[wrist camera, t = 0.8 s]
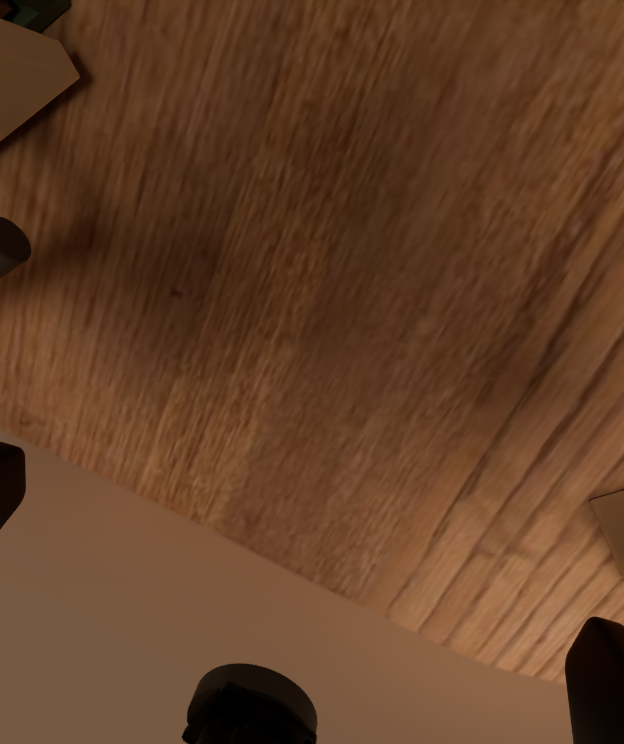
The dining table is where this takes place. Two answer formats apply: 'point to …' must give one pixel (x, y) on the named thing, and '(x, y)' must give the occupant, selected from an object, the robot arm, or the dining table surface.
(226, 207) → the dining table surface
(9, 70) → the drawer
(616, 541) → the block
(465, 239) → the dining table surface
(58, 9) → the cabinet
